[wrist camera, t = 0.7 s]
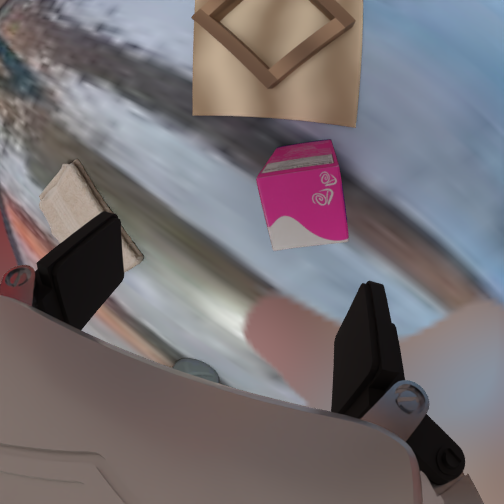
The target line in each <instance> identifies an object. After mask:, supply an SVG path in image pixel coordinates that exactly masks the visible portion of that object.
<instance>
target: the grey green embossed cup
mask: <svg viewBox="0 0 504 504" xmlns="http://www.w3.org/2000/svg"><path fill="white" fill-rule="evenodd" d="M173 369H176V370H179V371H182V372H185V373H188V374H191V375H194V376H197V377H200V378H203V379H206V380H209V381H212V382H215V383H219V378H218V374H217V373H216V371H215V370H214V369H213V368H211V367H210V366H209V365H207V364H205V363H203V362H201V361H199V360H195V359H190V358H184V359H180V360H178V361H177V362H176V363H175V365H174V366H173Z"/></svg>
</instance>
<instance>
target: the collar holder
mask: <svg viewBox="0 0 504 504" xmlns="http://www.w3.org/2000/svg"><path fill="white" fill-rule="evenodd" d="M191 18H192V19H193V20H194V43H193V115H216V116H247V117H265V118H279V119H290V120H301V121H310V122H318V123H326V124H334V125H341V126H348V127H354V128H356V118H357V108H358V97H359V85H360V71H361V54H362V30H363V0H195V14H194V15H193V16H192V17H191Z"/></svg>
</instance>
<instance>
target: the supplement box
mask: <svg viewBox="0 0 504 504" xmlns="http://www.w3.org/2000/svg"><path fill="white" fill-rule="evenodd" d="M256 181H257V186H258V190H259V195H260V199H261V203H262V208H263V211H264V215H265V220H266V224H267V227H268V232H269V236H270V240H271V244H272V248H273V250H274V251H276V250H283V249H290V248H298V247H306V246H315V245H324V244H333V243H342V242H348V241H349V236H348V226H347V216H346V208H345V201H344V194H343V187H342V180H341V174H340V168H339V164H338V161H337V158H336V154H335V151H334V147H333V144H332V141H331V139H328V140H320V141H313V142H306V143H299V144H293V145H287V146H282V147H277V148H276V150H275V151H274V153H273V154H272V156H271V157H270V159H269V160H268V162H267V163H266V165H265V166H264V168H263V169H262V170H261V172H260V173H259V175H258V176H257V178H256Z"/></svg>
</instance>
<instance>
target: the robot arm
mask: <svg viewBox="0 0 504 504" xmlns="http://www.w3.org/2000/svg"><path fill="white" fill-rule="evenodd" d="M37 267H38V270H36V271H35V270H34V269H33V268H32V267H31V266H28V265H19V266H15V267H13V268H11V269H9V270H8V271H7V272H6V273H5V274H4V275H3V277H2V281H1V284H0V504H484V503H483V501H482V499H481V497H480V495H479V493H478V491H477V489H476V487H475V485H474V483H473V482H472V480H471V478H470V476H469V474H467V475H464V473H463V470H464V467H465V457H464V454H463V452H462V450H461V448H460V447H459V446H458V445H457V444H456V443H455V442H454V441H453V440H452V439H451V438H450V437H449V436H448V435H447V434H446V433H445V432H444V431H443V430H442V429H441V428H440V427H439V426H438V425H437V424H436V423H435V422H434V421H433V420H432V419H431V418H430V417H429V416H428V415H427V414H426V413H427V411H428V409H429V399H428V396H427V394H426V392H425V391H424V390H423V388H422V387H421V386H419V385H418V384H416V383H415V382H412V381H408V380H405V377H404V370H403V364H402V358H401V352H400V346H399V341H398V335H397V330H396V327H395V325H394V324H393V323H391V318H390V312H389V308H388V303H387V298H386V293H385V289H384V285H383V284H379V283H376V282H372V281H368V282H367V283H366V284H364V283H362V284H361V286H360V288H359V290H358V292H357V294H356V296H355V298H354V300H353V303H352V305H351V307H350V309H349V311H348V313H347V315H346V317H345V319H344V321H343V323H342V325H341V327H340V329H339V331H338V333H337V335H336V338H335V342H334V371H333V391H332V407H331V412H330V411H325V410H320V409H316V408H311V407H307V406H302V405H298V404H294V403H290V402H285V401H281V400H277V399H273V398H269V397H265V396H261V395H257V394H254V393H250V392H246V391H243V390H239V389H235V388H232V387H229V386H225V385H222V384H219V383H215V382H212V381H209V380H206V379H203V378H200V377H197V376H194V375H191V374H188V373H185V372H182V371H179V370H176V369H173V368H170V367H168V366H165V365H162V364H159V363H157V362H154V361H151V360H149V359H146V358H144V357H141V356H139V355H136V354H134V353H131V352H129V351H126V350H124V349H121V348H119V347H117V346H114V345H112V344H110V343H107V342H105V341H103V340H101V339H98V338H96V337H94V336H92V335H89V334H87V333H85V332H83V331H81V330H82V328H83V327H84V326H85V325H86V324H87V322H88V321H89V320H90V319H91V317H92V316H93V315H94V314H95V313H96V311H97V310H98V309H99V308H100V307H101V305H102V304H103V303H104V302H105V301H106V300H107V298H108V297H109V296H110V295H111V294H112V292H113V291H114V290H115V289H116V288H117V287H118V286H119V284H120V283H121V282H122V280H123V278H124V265H123V252H122V237H121V221H120V219H118V216H117V215H116V214H113V213H109V212H106V211H103V212H101V213H100V214H98V215H97V216H96V217H94V218H93V219H92V220H90V221H89V222H87V223H86V224H85V225H83V226H82V227H81V228H79V229H78V230H77V231H76V232H74V233H73V234H72V235H70V236H69V237H68V238H67V239H65V240H64V241H63V242H61V243H60V244H59V245H58V246H56V247H55V248H54V249H53V250H52V251H50V252H49V253H48V254H47V255H45V256H44V257H43V258H42V259H41V260H39V261H38V262H37Z"/></svg>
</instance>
